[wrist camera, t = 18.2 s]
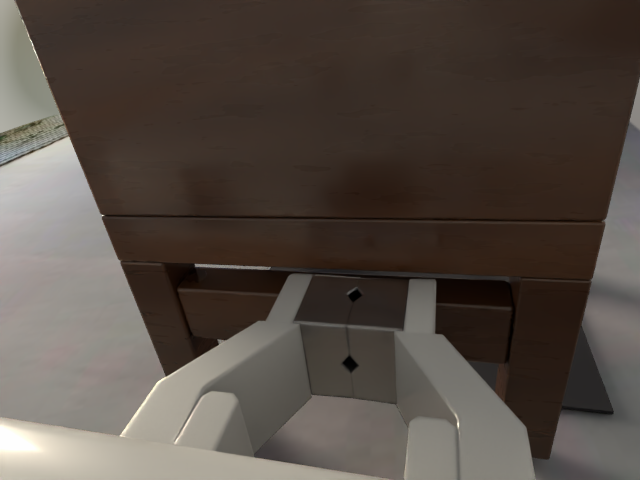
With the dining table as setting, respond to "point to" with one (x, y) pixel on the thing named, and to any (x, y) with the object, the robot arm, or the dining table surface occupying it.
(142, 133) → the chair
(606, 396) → the pad
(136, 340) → the dining table surface
